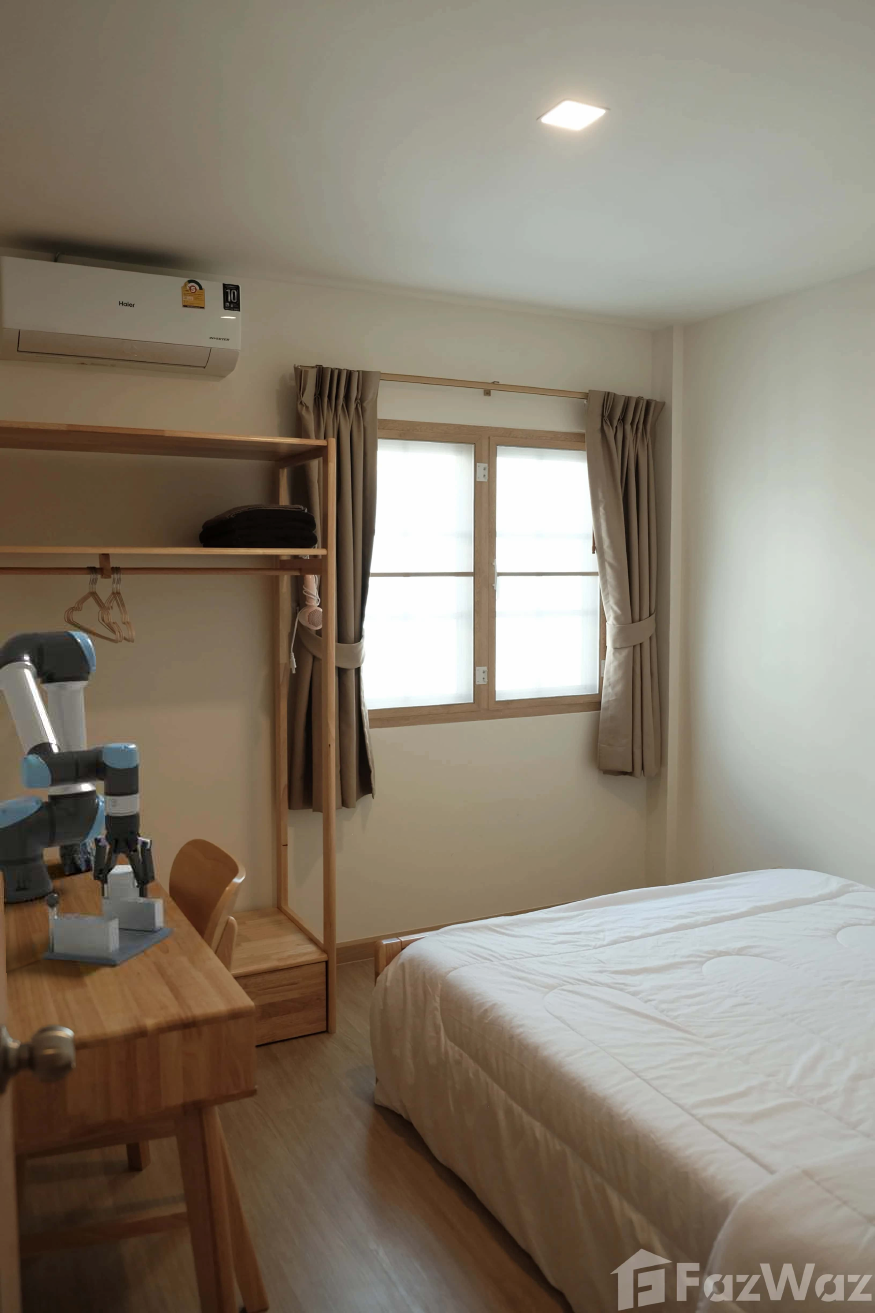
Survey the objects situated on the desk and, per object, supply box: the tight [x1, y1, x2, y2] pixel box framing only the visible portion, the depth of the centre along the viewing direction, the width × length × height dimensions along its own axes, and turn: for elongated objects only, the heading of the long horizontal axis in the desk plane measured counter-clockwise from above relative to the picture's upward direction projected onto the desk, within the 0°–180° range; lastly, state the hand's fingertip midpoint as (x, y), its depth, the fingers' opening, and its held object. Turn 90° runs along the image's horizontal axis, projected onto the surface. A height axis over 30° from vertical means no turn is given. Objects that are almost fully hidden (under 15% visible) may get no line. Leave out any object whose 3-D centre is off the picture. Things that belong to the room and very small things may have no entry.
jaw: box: [101, 895, 164, 931], centre depth 213 cm, size 3×13×6 cm, turn 73°
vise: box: [43, 892, 174, 966], centre depth 205 cm, size 20×18×13 cm
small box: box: [107, 864, 137, 897], centre depth 224 cm, size 8×6×10 cm
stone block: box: [58, 840, 95, 875], centre depth 271 cm, size 18×9×20 cm, turn 18°
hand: (124, 912), depth 224 cm, fingers closed on small box, 7 cm apart
